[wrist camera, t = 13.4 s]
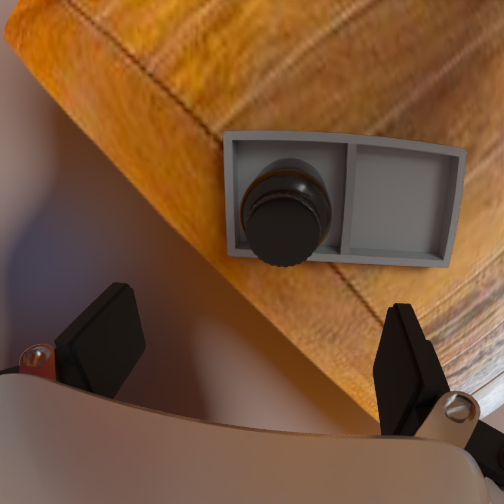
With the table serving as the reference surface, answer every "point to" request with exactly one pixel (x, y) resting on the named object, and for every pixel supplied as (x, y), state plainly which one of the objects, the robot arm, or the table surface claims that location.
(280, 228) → the supplement bottle
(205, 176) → the table surface
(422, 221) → the holder
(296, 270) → the table surface
